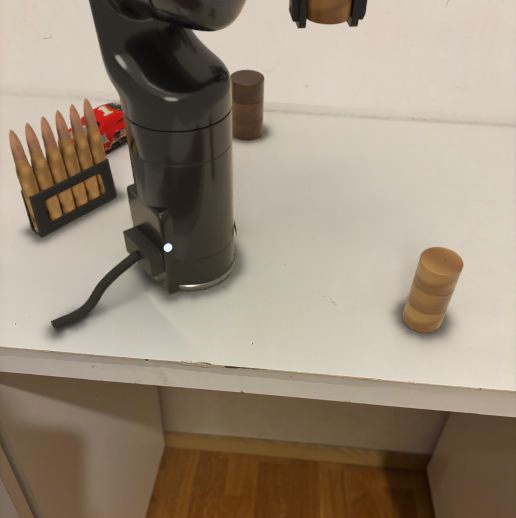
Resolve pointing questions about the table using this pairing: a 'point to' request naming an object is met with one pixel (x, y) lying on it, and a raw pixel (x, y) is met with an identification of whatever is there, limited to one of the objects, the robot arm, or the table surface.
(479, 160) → the table surface
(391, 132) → the table surface
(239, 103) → the walnut chip pile
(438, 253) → the oak chip base pile
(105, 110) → the race car
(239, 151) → the table surface
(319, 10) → the oak chip
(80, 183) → the ammunition clip
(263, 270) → the table surface
